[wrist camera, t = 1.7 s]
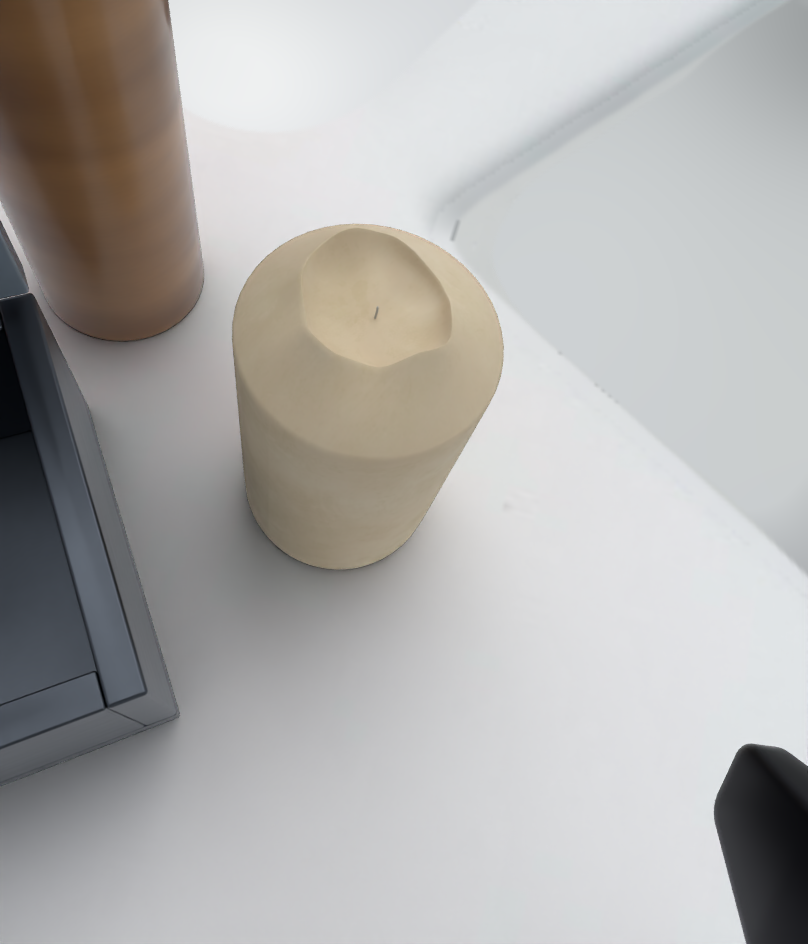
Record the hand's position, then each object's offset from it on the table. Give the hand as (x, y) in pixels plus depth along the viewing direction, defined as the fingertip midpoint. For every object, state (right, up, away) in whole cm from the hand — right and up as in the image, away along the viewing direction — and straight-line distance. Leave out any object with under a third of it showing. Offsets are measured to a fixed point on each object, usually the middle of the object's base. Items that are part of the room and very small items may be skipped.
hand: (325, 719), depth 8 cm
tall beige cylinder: (-8, +9, +17) cm, 21 cm away
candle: (-1, +2, +16) cm, 16 cm away
